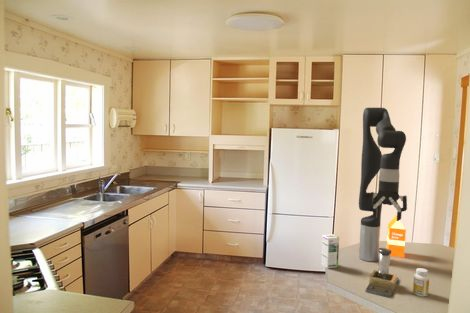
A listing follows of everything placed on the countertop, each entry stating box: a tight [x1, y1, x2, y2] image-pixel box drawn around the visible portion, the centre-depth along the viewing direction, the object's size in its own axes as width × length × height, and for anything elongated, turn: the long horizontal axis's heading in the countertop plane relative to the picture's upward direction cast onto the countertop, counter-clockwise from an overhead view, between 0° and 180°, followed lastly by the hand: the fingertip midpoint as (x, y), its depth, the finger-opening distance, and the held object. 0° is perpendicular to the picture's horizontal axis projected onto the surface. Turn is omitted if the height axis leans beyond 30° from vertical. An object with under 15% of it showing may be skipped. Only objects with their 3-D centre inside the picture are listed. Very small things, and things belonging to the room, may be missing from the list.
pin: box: [377, 247, 392, 280], centre depth 148 cm, size 5×5×15 cm
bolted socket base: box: [365, 269, 399, 298], centre depth 149 cm, size 21×9×4 cm, turn 148°
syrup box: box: [320, 233, 340, 270], centre depth 168 cm, size 6×6×14 cm
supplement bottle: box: [412, 267, 430, 297], centre depth 142 cm, size 5×5×10 cm
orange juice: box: [386, 214, 407, 258], centre depth 188 cm, size 8×9×20 cm
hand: (386, 219), depth 147 cm, fingers open, 8 cm apart
